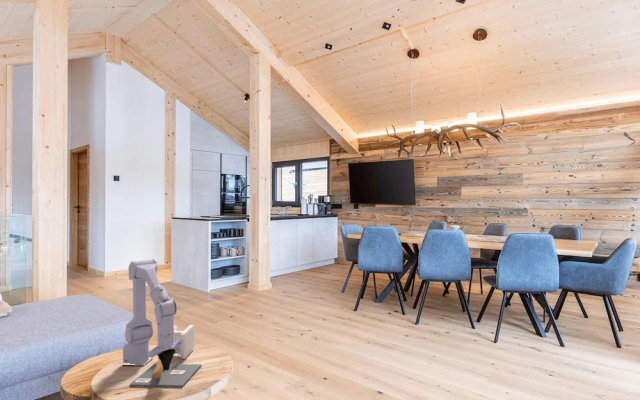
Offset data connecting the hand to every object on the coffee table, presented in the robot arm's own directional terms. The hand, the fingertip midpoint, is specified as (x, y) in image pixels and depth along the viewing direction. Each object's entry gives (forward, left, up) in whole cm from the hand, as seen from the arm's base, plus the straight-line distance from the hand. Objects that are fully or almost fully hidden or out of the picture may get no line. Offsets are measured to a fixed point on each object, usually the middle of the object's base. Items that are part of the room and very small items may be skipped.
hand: (166, 369), depth 142 cm
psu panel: (-2, +5, -5) cm, 8 cm away
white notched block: (-7, +25, -5) cm, 27 cm away
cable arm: (-4, +3, -4) cm, 6 cm away
